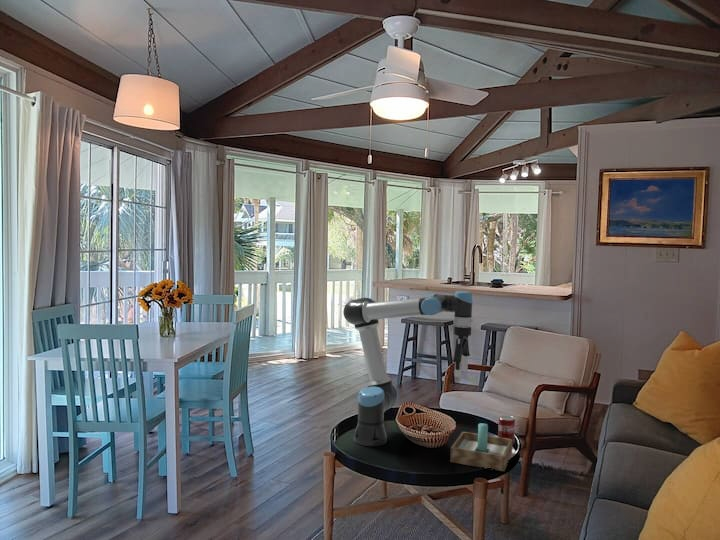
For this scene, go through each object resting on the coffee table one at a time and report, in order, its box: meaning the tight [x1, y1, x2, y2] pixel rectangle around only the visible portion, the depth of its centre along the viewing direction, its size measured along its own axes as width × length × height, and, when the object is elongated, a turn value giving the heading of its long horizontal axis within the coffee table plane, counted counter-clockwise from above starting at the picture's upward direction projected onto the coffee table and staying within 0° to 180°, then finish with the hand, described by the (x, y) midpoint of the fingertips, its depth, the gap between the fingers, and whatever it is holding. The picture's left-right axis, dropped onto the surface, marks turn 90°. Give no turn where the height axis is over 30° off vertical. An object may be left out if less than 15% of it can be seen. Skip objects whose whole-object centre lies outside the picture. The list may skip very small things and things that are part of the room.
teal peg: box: [477, 422, 489, 453], centre depth 237 cm, size 4×4×14 cm
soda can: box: [497, 415, 516, 447], centre depth 254 cm, size 7×7×12 cm
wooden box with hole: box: [449, 431, 513, 472], centre depth 237 cm, size 22×22×6 cm
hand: (461, 373), depth 248 cm, fingers open, 13 cm apart
